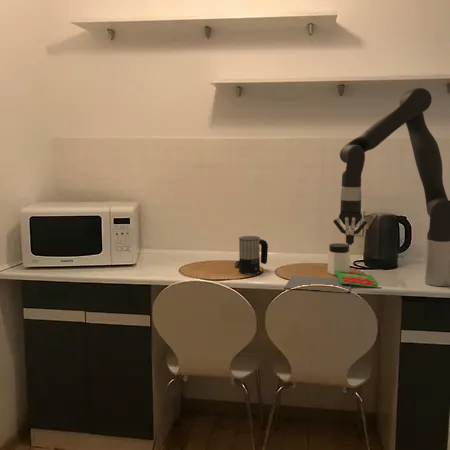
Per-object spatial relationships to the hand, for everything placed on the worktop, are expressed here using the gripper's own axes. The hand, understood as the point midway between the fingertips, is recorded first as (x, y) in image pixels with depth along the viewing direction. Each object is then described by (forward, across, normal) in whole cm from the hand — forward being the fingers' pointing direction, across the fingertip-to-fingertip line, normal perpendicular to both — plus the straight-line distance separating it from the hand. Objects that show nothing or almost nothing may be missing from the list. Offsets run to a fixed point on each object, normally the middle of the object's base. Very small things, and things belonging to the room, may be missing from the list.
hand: (349, 244), depth 220 cm
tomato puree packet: (+15, -5, +1) cm, 16 cm away
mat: (+16, +11, 0) cm, 20 cm away
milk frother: (+16, +44, -18) cm, 51 cm away
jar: (+16, +6, -22) cm, 28 cm away
